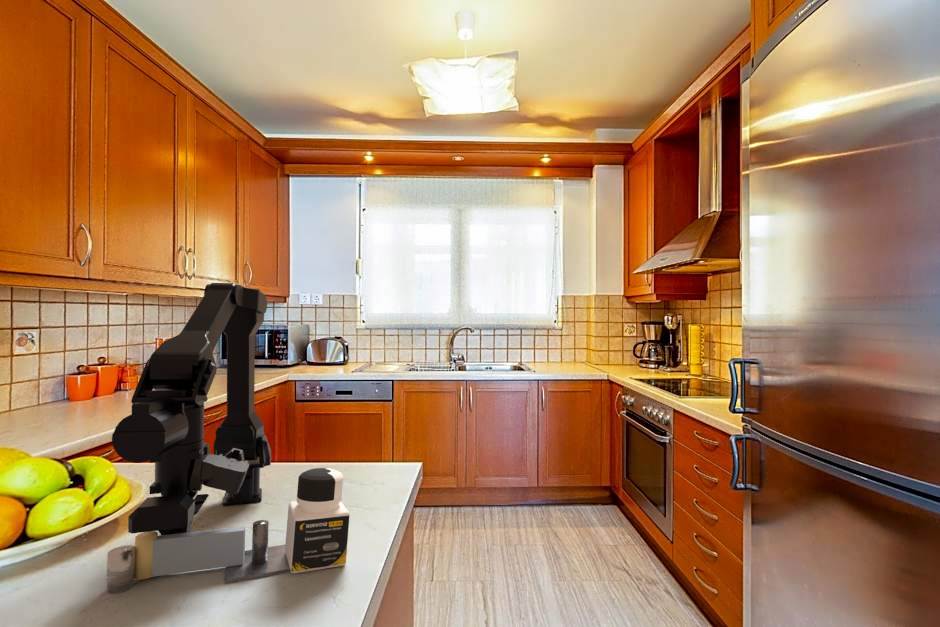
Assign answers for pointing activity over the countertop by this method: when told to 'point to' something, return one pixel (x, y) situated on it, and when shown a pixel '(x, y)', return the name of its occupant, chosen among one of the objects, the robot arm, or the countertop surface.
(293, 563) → the medicine bottle
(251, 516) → the countertop surface
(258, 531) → the peg on base plate
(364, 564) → the countertop surface
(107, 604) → the countertop surface
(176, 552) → the gate
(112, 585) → the post
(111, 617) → the countertop surface
